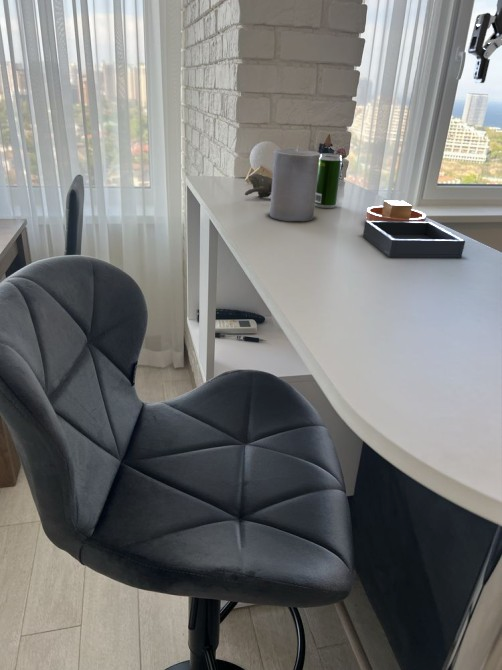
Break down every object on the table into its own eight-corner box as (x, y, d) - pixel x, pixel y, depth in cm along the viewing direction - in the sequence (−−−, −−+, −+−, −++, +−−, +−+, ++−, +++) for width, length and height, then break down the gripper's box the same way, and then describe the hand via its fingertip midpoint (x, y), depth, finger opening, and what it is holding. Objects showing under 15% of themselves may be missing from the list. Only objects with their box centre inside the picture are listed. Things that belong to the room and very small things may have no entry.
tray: (427, 237, 102) (430, 221, 101) (461, 258, 90) (465, 240, 88) (362, 236, 100) (365, 220, 98) (389, 257, 88) (392, 240, 86)
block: (399, 221, 111) (403, 201, 109) (408, 226, 107) (412, 205, 105) (380, 221, 110) (383, 200, 108) (388, 226, 106) (392, 205, 104)
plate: (408, 220, 115) (410, 206, 114) (433, 234, 104) (436, 219, 103) (357, 219, 113) (359, 205, 112) (376, 233, 102) (379, 218, 101)
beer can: (326, 209, 120) (332, 156, 115) (309, 205, 124) (314, 153, 119) (340, 207, 124) (346, 155, 119) (323, 202, 127) (328, 152, 122)
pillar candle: (283, 209, 118) (289, 141, 111) (321, 217, 113) (329, 146, 106) (261, 216, 110) (265, 143, 104) (299, 224, 106) (307, 149, 99)
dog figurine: (290, 197, 131) (293, 168, 128) (292, 202, 126) (295, 171, 123) (244, 195, 131) (245, 165, 127) (244, 200, 125) (245, 169, 122)
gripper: (501, -33, 79) (475, 82, 86) (582, -25, 81) (550, 86, 89) (476, -25, 86) (454, 82, 93) (551, -17, 88) (524, 86, 95)
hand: (501, 84), depth 91 cm, fingers open, 8 cm apart
